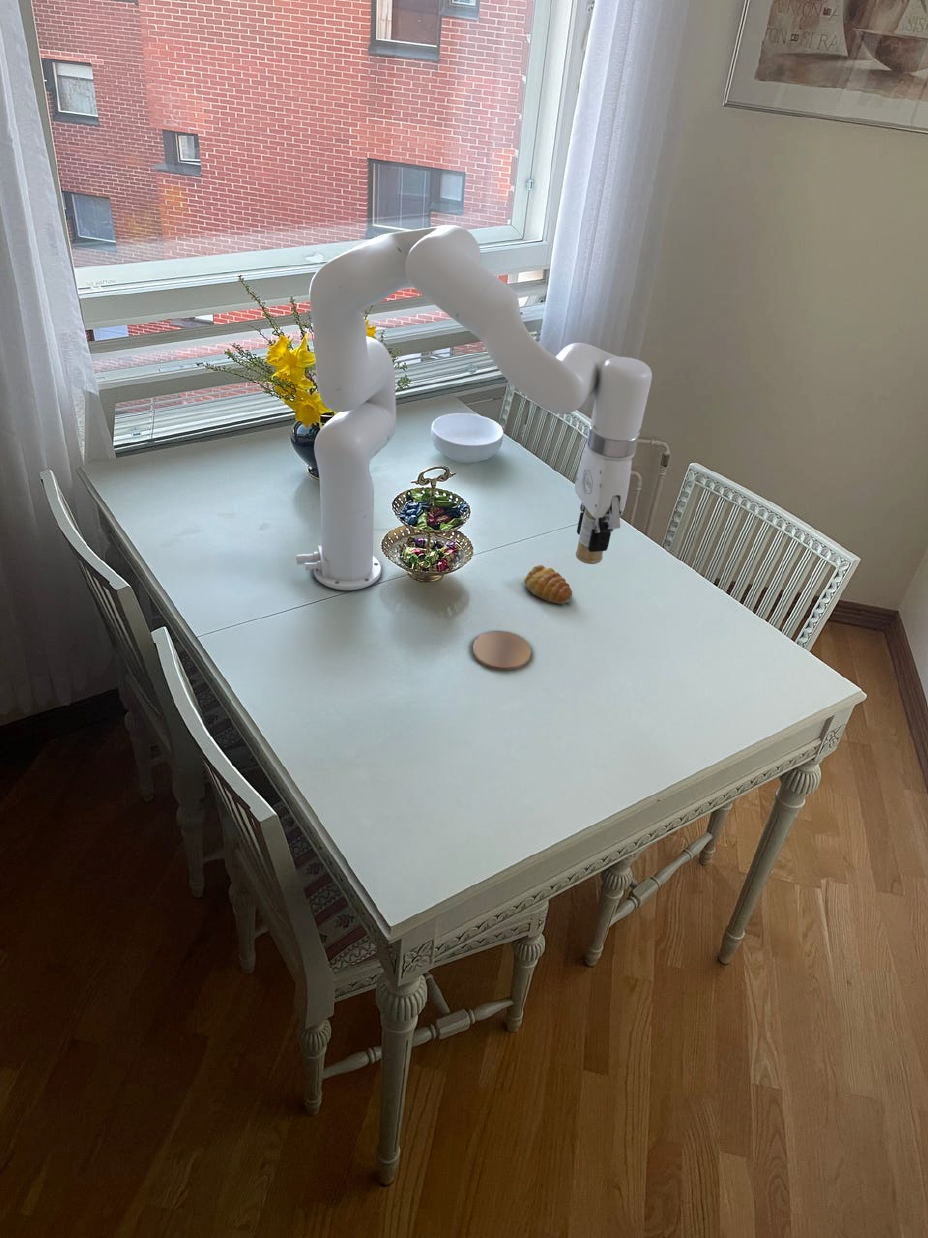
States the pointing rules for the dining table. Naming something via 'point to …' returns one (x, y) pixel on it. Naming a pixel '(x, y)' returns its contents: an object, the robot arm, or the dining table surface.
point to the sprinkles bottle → (584, 539)
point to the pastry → (548, 585)
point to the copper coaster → (501, 650)
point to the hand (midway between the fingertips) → (591, 540)
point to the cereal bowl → (466, 437)
